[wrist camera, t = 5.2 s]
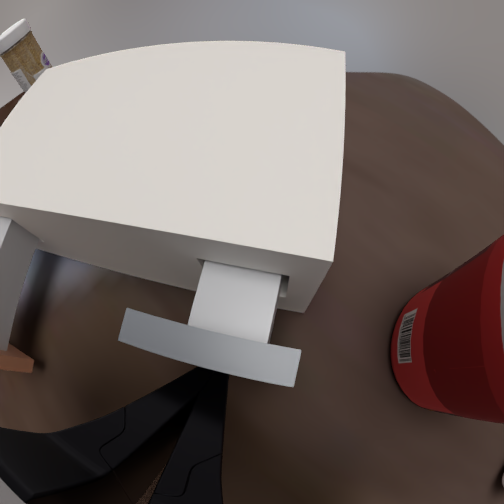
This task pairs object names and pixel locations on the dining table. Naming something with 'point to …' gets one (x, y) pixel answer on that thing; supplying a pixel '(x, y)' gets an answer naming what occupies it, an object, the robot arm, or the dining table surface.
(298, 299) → the block
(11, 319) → the plunger terracotta
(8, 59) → the sprinkles bottle
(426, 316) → the canned food
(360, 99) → the dining table surface
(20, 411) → the dining table surface
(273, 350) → the plunger grey
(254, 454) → the dining table surface
